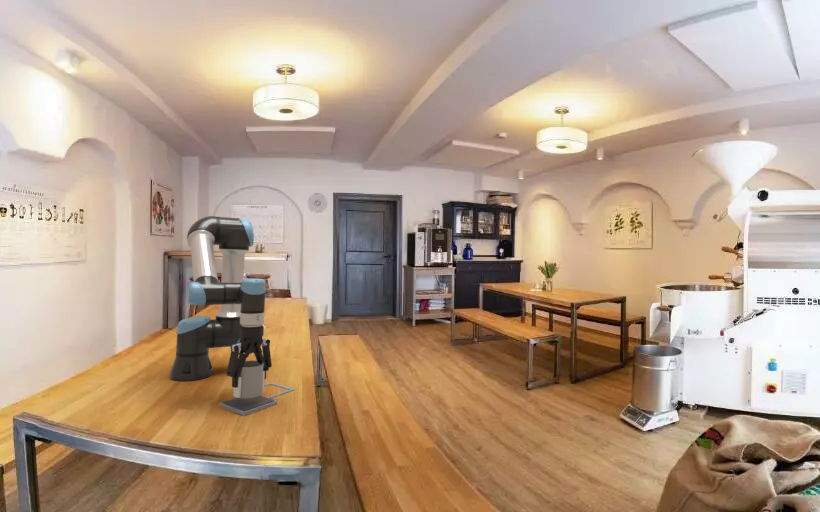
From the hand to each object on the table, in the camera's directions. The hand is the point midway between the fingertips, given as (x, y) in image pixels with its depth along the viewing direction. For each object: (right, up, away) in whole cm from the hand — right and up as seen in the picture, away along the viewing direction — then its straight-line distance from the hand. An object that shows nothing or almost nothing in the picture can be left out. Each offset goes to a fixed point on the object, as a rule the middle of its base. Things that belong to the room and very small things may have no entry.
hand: (249, 393), depth 135 cm
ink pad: (0, -4, 0) cm, 4 cm away
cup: (0, -1, 0) cm, 1 cm away
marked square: (+1, -4, +14) cm, 15 cm away
